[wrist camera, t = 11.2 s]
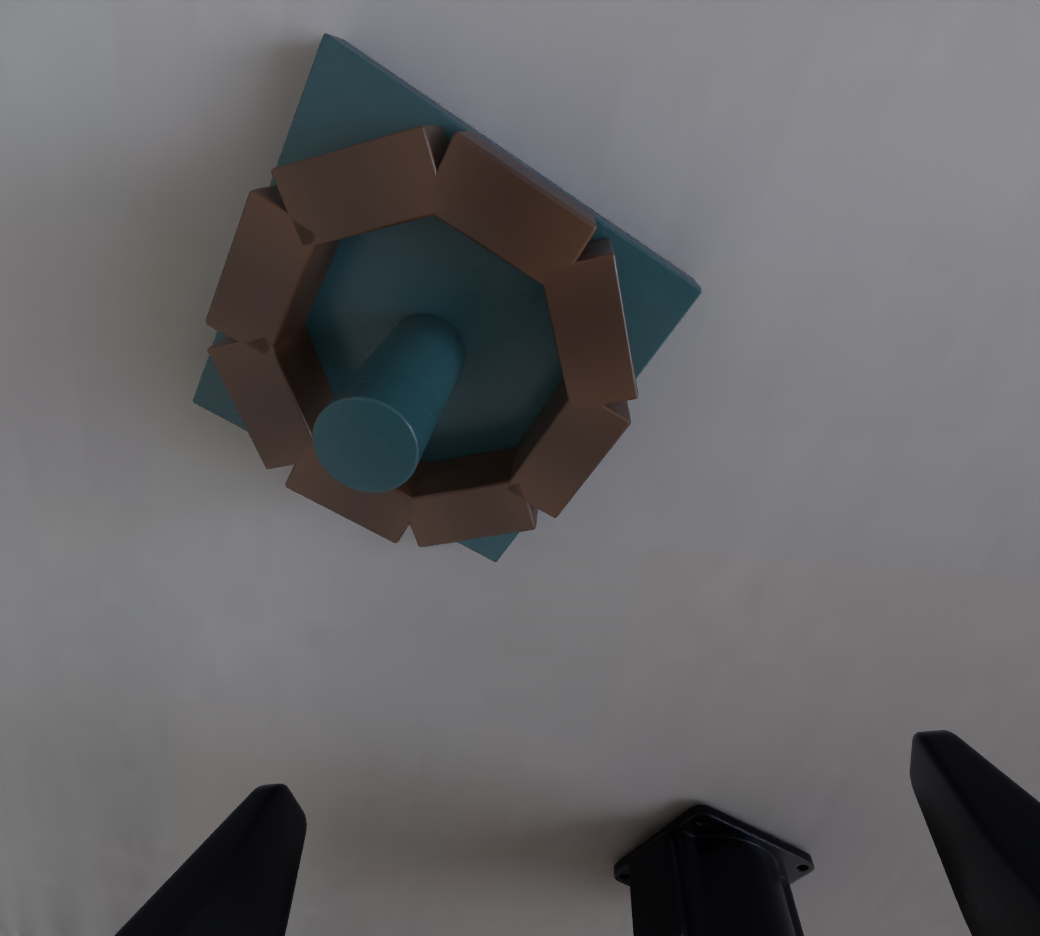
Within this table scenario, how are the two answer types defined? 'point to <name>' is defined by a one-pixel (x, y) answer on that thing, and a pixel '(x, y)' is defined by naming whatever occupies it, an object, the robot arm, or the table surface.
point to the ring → (490, 223)
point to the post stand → (432, 309)
